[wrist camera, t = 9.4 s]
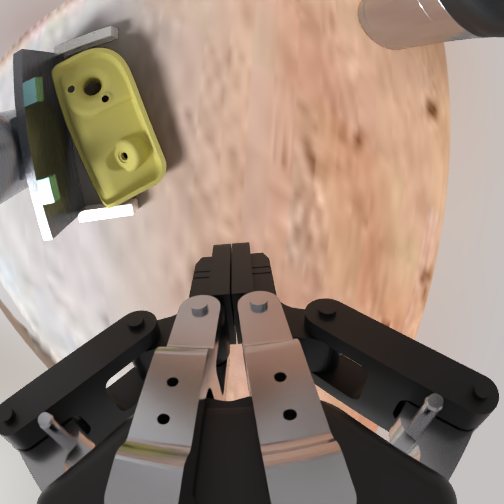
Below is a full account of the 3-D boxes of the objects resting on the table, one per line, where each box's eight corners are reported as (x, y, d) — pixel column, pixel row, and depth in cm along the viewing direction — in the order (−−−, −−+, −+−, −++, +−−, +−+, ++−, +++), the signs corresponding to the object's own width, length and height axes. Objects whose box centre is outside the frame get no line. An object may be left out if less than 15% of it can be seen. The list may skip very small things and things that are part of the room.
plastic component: (172, 176, 35) (102, 214, 32) (160, 169, 41) (101, 201, 38) (119, 36, 24) (41, 72, 21) (115, 52, 30) (50, 82, 27)
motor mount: (118, 29, 26) (43, -6, 11) (138, 208, 39) (85, 279, 23) (-1, 81, 26) (-82, 95, 10) (24, 226, 38) (-40, 284, 23)
